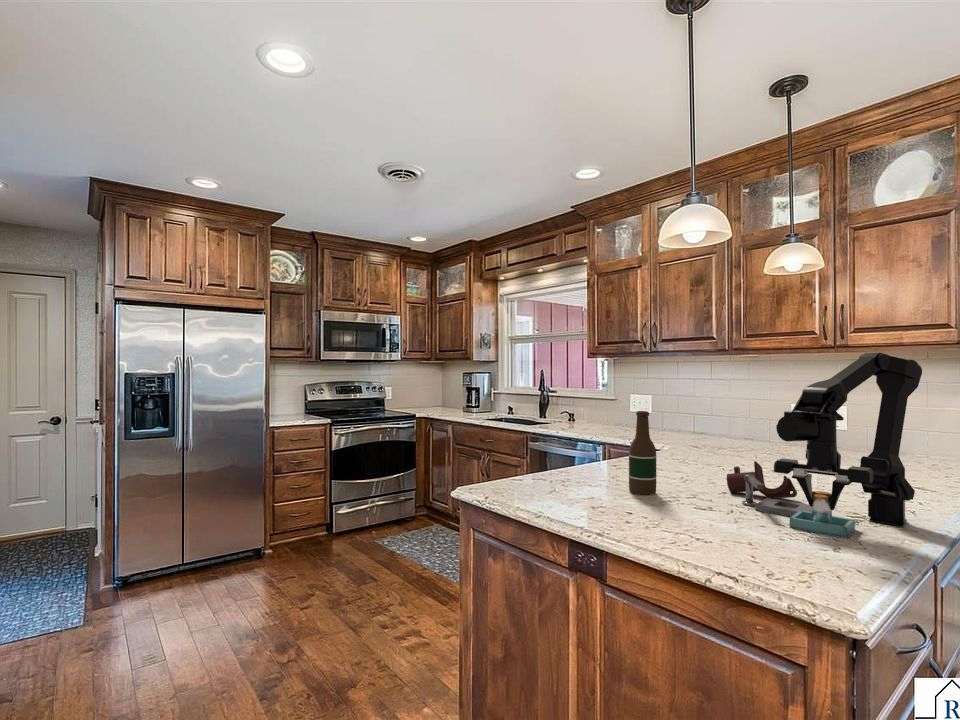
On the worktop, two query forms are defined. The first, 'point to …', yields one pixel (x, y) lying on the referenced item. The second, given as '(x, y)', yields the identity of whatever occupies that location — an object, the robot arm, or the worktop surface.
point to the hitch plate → (774, 504)
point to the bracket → (739, 484)
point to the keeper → (753, 481)
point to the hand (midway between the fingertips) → (822, 508)
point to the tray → (823, 524)
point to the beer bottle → (642, 459)
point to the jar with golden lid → (821, 506)
